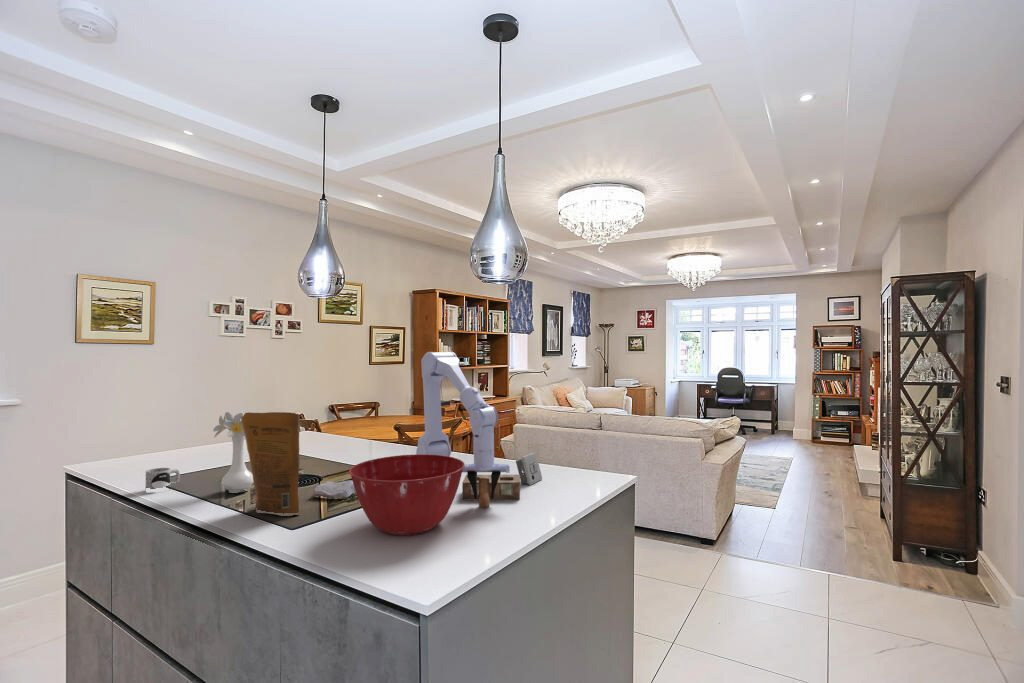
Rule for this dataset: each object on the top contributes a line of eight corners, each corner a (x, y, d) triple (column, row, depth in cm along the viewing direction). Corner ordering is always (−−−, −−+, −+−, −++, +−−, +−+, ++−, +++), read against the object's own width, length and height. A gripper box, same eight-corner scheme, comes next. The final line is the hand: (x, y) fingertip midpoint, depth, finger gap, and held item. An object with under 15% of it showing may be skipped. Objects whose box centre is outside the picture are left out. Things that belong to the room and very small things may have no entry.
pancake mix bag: (290, 521, 139) (290, 414, 140) (238, 512, 147) (238, 411, 147) (309, 513, 146) (309, 411, 146) (259, 506, 153) (258, 408, 154)
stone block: (348, 506, 159) (360, 491, 168) (346, 491, 158) (358, 477, 168) (310, 507, 160) (324, 491, 170) (308, 492, 159) (322, 477, 169)
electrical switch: (530, 486, 173) (528, 457, 174) (516, 485, 176) (514, 457, 176) (542, 479, 182) (540, 452, 182) (529, 479, 184) (526, 452, 185)
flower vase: (246, 499, 160) (246, 416, 161) (201, 494, 167) (201, 414, 167) (278, 488, 173) (278, 411, 173) (235, 484, 179) (235, 409, 179)
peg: (478, 508, 149) (478, 479, 149) (479, 505, 152) (479, 476, 152) (489, 508, 149) (489, 479, 149) (489, 504, 152) (489, 476, 152)
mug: (152, 494, 167) (152, 473, 167) (141, 491, 171) (141, 471, 171) (185, 487, 176) (185, 467, 176) (174, 484, 179) (174, 465, 179)
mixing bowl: (416, 556, 115) (416, 484, 115) (323, 534, 129) (323, 470, 129) (485, 519, 140) (485, 460, 140) (401, 504, 153) (401, 450, 154)
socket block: (462, 499, 158) (462, 482, 158) (466, 490, 168) (466, 474, 168) (519, 499, 157) (519, 482, 157) (520, 490, 168) (519, 474, 168)
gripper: (456, 452, 147) (456, 501, 147) (508, 452, 147) (509, 501, 147) (459, 447, 154) (460, 495, 154) (509, 447, 154) (510, 494, 154)
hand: (484, 497), depth 151 cm, fingers open, 4 cm apart
